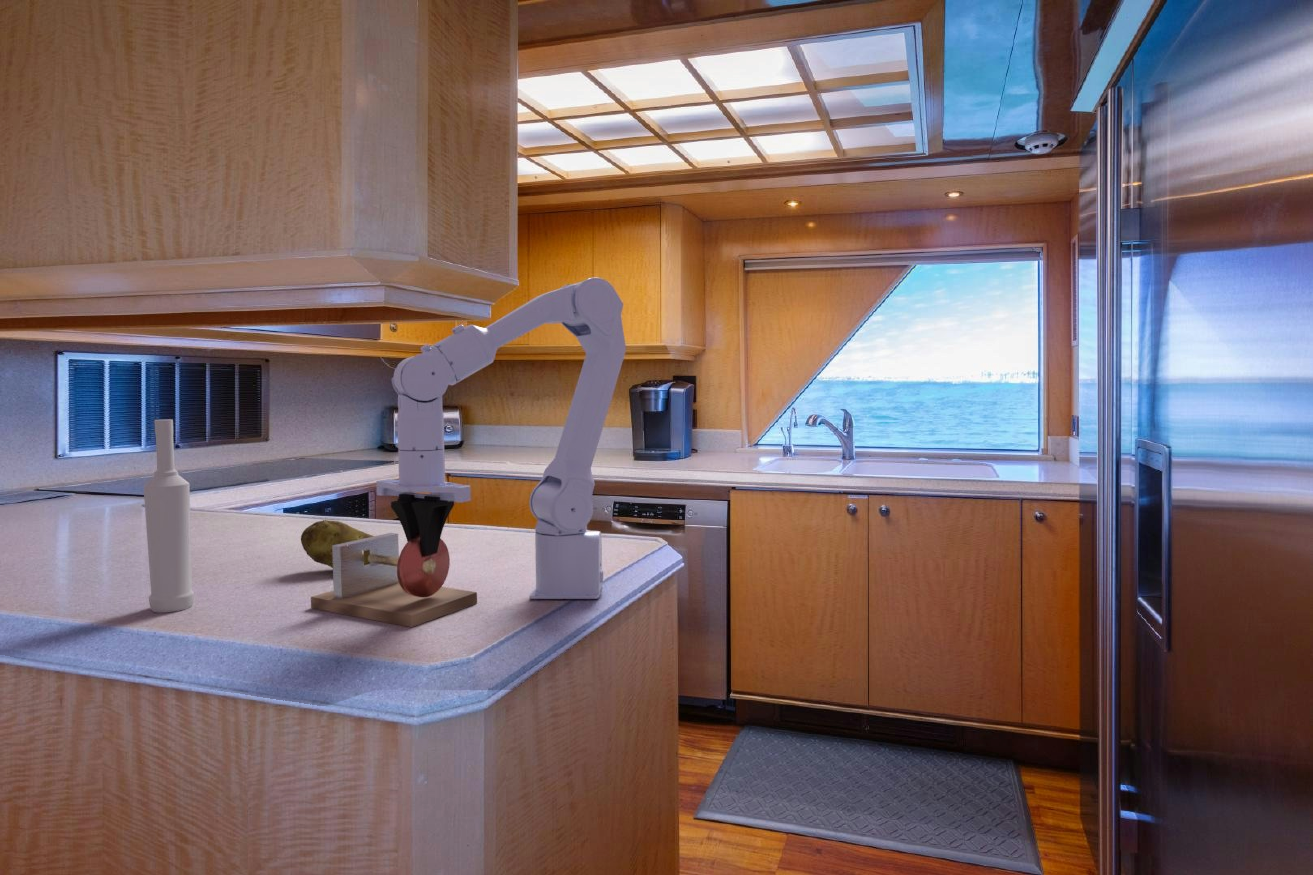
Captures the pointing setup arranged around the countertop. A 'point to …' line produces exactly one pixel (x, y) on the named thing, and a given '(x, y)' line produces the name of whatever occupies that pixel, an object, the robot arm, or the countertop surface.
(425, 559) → the copper disc on rod
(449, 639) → the countertop surface
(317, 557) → the potato
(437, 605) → the base board
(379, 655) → the countertop surface
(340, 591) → the eye plate
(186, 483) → the bottle
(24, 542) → the countertop surface
